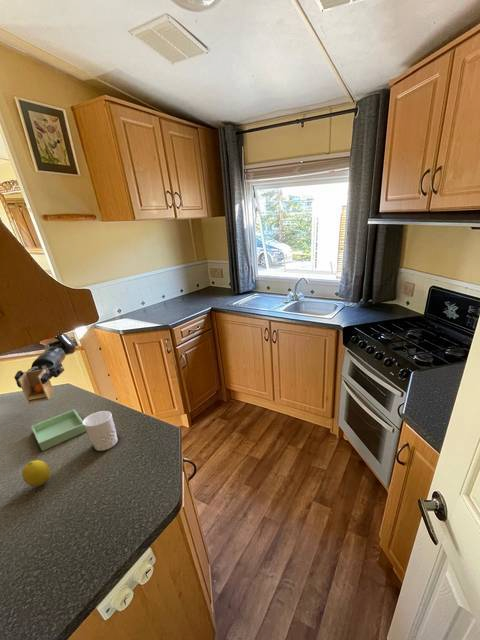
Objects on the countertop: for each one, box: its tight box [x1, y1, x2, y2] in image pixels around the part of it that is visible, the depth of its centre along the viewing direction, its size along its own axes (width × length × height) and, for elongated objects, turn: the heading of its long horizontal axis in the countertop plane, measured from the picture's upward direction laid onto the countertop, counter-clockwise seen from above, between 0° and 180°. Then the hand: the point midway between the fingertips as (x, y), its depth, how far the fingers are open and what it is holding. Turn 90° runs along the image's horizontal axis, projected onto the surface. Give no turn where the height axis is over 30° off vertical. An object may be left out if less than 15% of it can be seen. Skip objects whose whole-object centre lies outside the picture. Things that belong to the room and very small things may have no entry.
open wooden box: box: [18, 369, 55, 404], centre depth 99 cm, size 6×6×9 cm
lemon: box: [21, 459, 51, 487], centre depth 77 cm, size 6×6×8 cm
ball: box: [34, 384, 43, 393], centre depth 100 cm, size 3×3×3 cm
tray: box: [30, 409, 87, 452], centre depth 99 cm, size 13×13×3 cm
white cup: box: [82, 410, 119, 452], centre depth 91 cm, size 8×8×10 cm
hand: (31, 383), depth 95 cm, fingers closed on open wooden box, 5 cm apart
